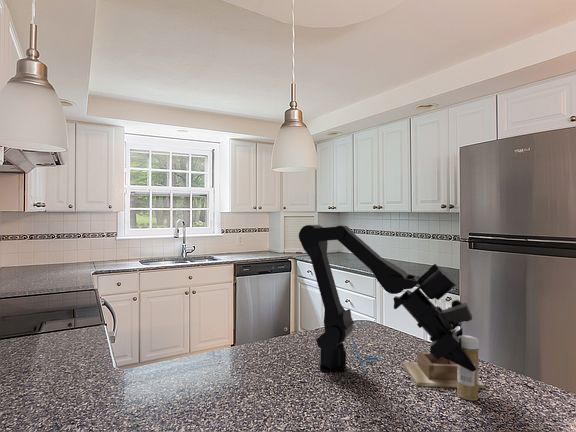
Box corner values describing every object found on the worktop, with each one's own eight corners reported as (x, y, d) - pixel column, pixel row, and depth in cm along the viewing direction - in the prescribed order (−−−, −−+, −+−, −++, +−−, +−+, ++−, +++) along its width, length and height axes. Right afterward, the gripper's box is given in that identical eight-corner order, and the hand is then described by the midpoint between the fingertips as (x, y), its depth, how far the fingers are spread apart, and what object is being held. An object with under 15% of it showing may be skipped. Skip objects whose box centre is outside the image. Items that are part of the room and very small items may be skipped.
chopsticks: (367, 339, 119) (351, 339, 119) (385, 371, 94) (365, 371, 94) (367, 343, 119) (351, 343, 119) (385, 376, 94) (365, 377, 94)
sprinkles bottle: (482, 398, 83) (483, 338, 83) (471, 403, 80) (472, 342, 80) (463, 390, 87) (464, 333, 87) (452, 394, 84) (453, 336, 84)
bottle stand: (417, 385, 88) (417, 368, 88) (402, 364, 101) (402, 349, 101) (484, 388, 88) (484, 370, 88) (460, 366, 101) (461, 351, 101)
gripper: (447, 298, 77) (507, 360, 72) (452, 284, 94) (501, 334, 89) (408, 329, 81) (462, 390, 76) (419, 311, 97) (465, 360, 92)
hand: (474, 366), depth 83 cm, fingers closed on sprinkles bottle, 4 cm apart
